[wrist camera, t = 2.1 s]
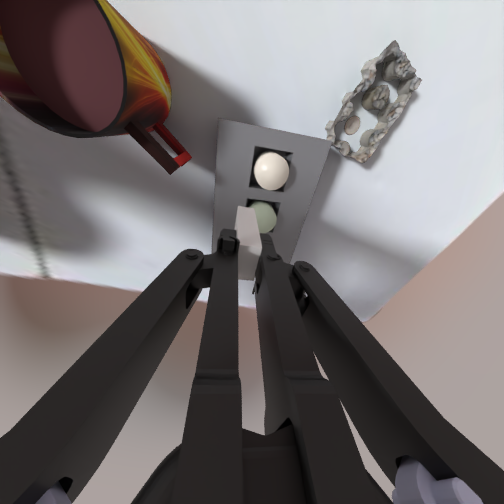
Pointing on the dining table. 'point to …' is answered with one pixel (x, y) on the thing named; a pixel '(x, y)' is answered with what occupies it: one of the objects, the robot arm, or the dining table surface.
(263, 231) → the sage button
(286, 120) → the dining table surface
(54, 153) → the dining table surface
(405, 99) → the egg carton
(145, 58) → the mug
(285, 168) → the cream button
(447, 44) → the dining table surface
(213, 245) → the console
